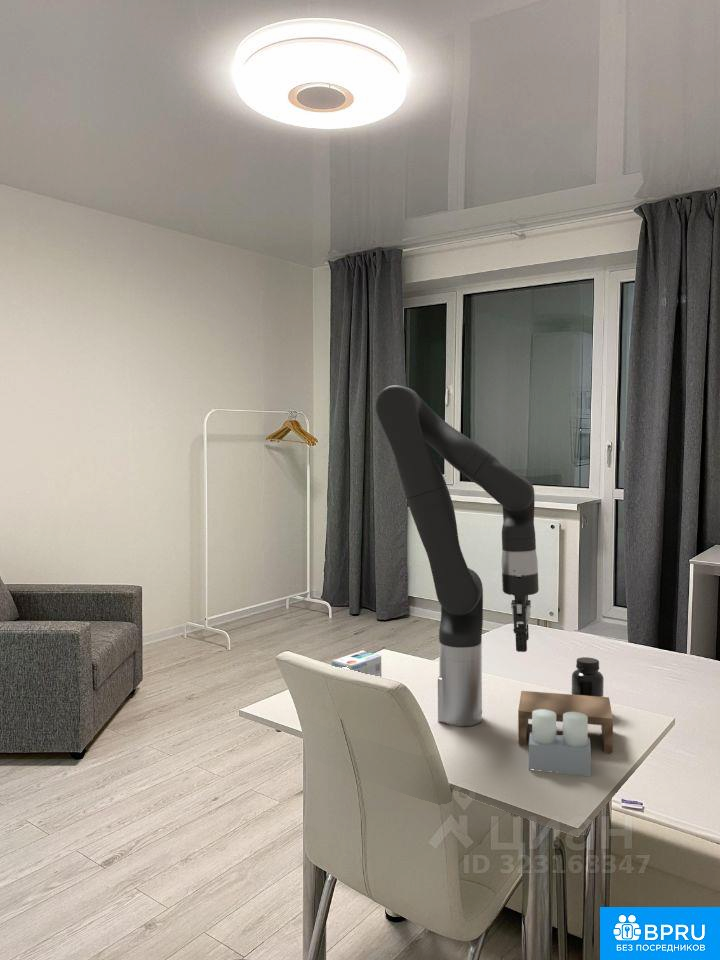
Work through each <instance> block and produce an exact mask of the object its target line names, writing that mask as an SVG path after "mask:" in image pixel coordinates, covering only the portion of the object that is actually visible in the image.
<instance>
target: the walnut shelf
mask: <svg viewBox="0 0 720 960" xmlns="http://www.w3.org/2000/svg"><path fill="white" fill-rule="evenodd" d="M519 697H520V698H519V702H518V703H519V704H518V711H517V712H518V713H517V715H518V718H517V719H518V720H517V724H518V725H517V730H518V731H517V732H518V735H517V737H518V739H517V740H518V741H517V742H518V744H520V745H519V746H525V745H526V746H527V740H528V738H527V737H528V731H529V730H528V729H529V720H532V712H533V711H534V710H538V709H545V710H551V711H553V712H555V713H556V722H558V723H560V722H561V723H563V714H564V713H566V712H579V713H583V714H585V715H587V717H588V725H593V726H595V725H597V726H600V727H601V728H600V729H601V730H602V731H601V737H603V738H602V744H603V751H604V754H609V753H613V752H614V749H613V748H614V745H613V744H614V740H613V739H614V718H613V711H612V707H611V702H610V697H609V696H608V697H607V696H603V697H598V696H585V695H572V693H569V694H568V693H558V692H555V693H554V692H544V691H532V690H531V691H530V690H529V691H528V690H521V691H520V696H519ZM613 754H614V753H613Z"/></svg>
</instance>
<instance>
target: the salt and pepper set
mask: <svg viewBox="0 0 720 960" xmlns="http://www.w3.org/2000/svg"><path fill="white" fill-rule="evenodd" d="M531 721H532V722H531V732H529V739H528V770H529V769H534V770H541V771H540V772H544V771H552V772H551V773H553V772H558V773H557V774H563V773H564V774H565V775H575V776H585V777H592V776H591V775H592V767H591V766H592V764H591V763H592V749H591V738H590V737H588V734H589V733H588V727H589V726H588V725H589V724H588V717H587V715H585V714H583V713H579V712H566V713H564V714H563V722H562V735H559V734H557V721H556V713H555V712H553V711H551V710H545V709H538V710H534V711H533V712H532V719H531ZM534 770H533V771H534Z"/></svg>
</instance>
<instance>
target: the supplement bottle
mask: <svg viewBox="0 0 720 960" xmlns="http://www.w3.org/2000/svg"><path fill="white" fill-rule="evenodd" d="M575 668H576V669H575V670H574V671H573V672H571V673H572V674H571V695H585V696H598V697H604V681H605V680H604V675H603V674H602V673H601V671H599V670H600V661H599V659H597V658H595V657H589V656H588V657H584V656H583V657H578V658H577V659H576V664H575Z"/></svg>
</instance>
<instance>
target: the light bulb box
mask: <svg viewBox="0 0 720 960" xmlns="http://www.w3.org/2000/svg"><path fill="white" fill-rule="evenodd" d="M332 666H335V667H341V668H342V667H347V666H348V667H347V668H349V669H350V670H354V671H358V672H361V673H365V674H370V675H375V676H380V677H382V676H383V675H382V655H381V654H377V653H375V652H369V651H366V650H360V651H356V652H353V653H350V654H349V655H346V656H342V657H339V658H335V659H332V660H331V667H332Z"/></svg>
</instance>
